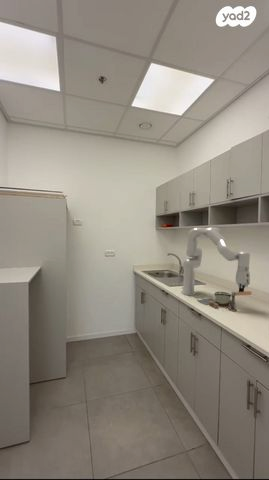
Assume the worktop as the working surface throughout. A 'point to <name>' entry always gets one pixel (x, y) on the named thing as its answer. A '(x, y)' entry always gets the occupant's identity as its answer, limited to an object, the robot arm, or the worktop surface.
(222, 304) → the food container
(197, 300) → the mat
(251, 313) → the worktop surface
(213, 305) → the wooden blocks
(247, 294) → the tall wooden post
